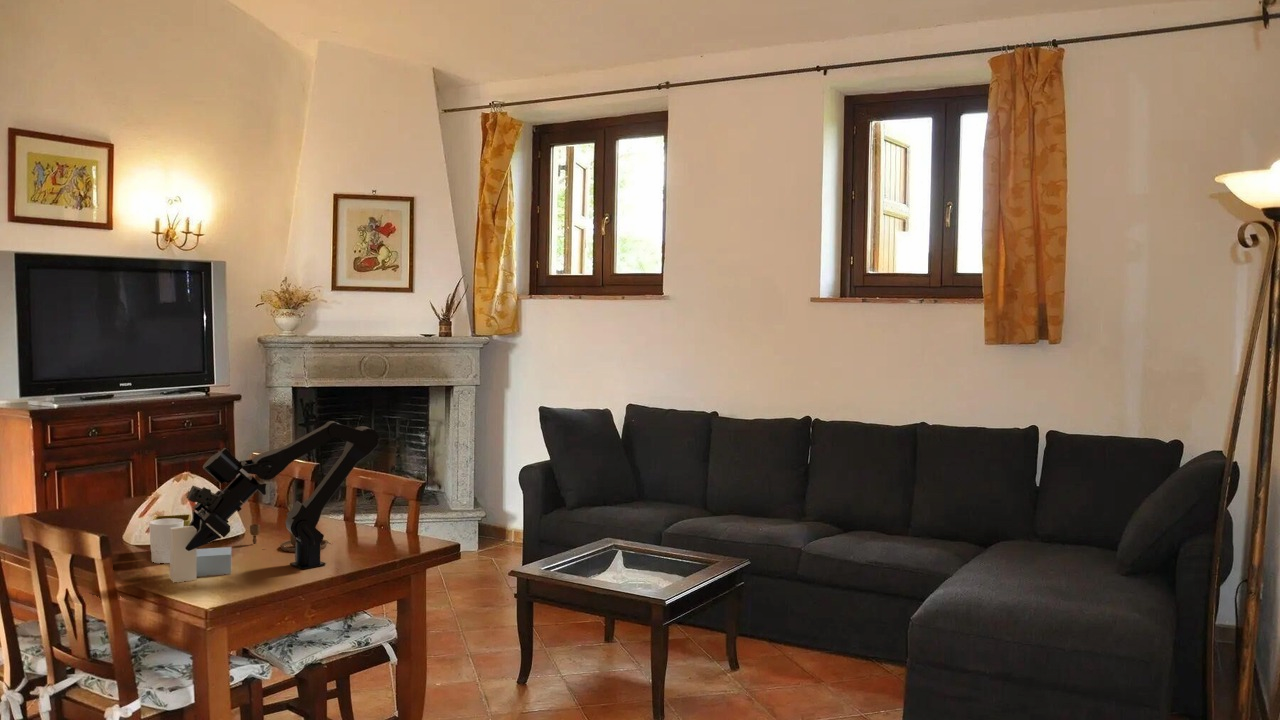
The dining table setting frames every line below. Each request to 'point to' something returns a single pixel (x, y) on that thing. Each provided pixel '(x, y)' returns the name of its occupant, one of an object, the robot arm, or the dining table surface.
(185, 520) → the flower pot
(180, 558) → the pillar
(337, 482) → the robot arm
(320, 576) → the dining table surface
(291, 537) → the place setting
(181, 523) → the white cup
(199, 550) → the base block
